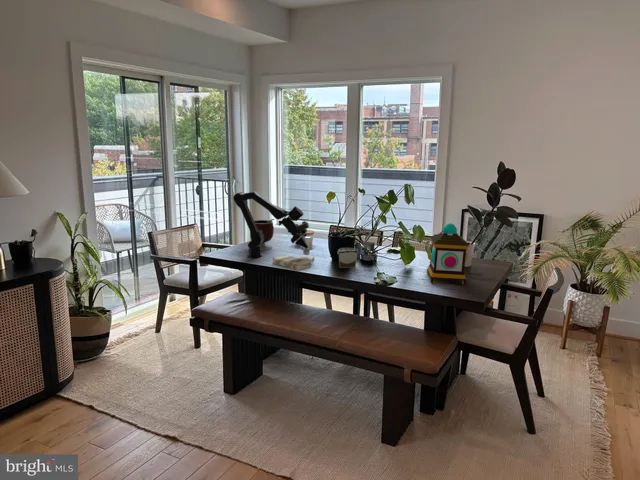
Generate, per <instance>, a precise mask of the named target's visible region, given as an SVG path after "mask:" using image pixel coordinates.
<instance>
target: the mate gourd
mask: <svg viewBox="0 0 640 480" xmlns="http://www.w3.org/2000/svg"><path fill="white" fill-rule="evenodd" d="M273 221H275V218H270V219H269V220H268V219H256V220H255V219H254V222H255V224H256V226H257V228H258V230H259V231H260V230H262V232H263V235H264V241H263V242H262V243H261V245H259V247H260V251H269V250H270V251H271V250H273V246H271V245H267V244H266V243H267V242H269V241H271V239H272V238H273V235H274V222H273Z"/></svg>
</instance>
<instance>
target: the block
mask: <svg viewBox="0 0 640 480" xmlns="http://www.w3.org/2000/svg"><path fill="white" fill-rule="evenodd" d="M298 258H299V259H303V260H306V261H310V262H311V264H312V263H313V262H314V260H315V255H304V254H301V255H299V256H298Z"/></svg>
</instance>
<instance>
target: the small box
mask: <svg viewBox="0 0 640 480" xmlns="http://www.w3.org/2000/svg"><path fill="white" fill-rule="evenodd" d="M362 241H363V243H364V244H365V245H366V246H367V248H368V249H369V250H370V251H373V250H374V251H375V246H376V245H375V244H376V243H375V242H372V241H365V240H362ZM354 249H358V252H359V253H358V254H357V260H356V261H358V260H359V261H361V260H360V255H361V254H362V255H368V252H366V251H364V250H362V246H361V244H360V243H358V242H357V241H355V242H354Z"/></svg>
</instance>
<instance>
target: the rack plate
mask: <svg viewBox="0 0 640 480" xmlns="http://www.w3.org/2000/svg"><path fill="white" fill-rule="evenodd" d="M272 264H275V265H279V266H282V267H286V268H289V269H293V270H297V271H301V270H304V268H305V269H308V268H311V267H312V263H311V262H310V261H306V260H303V259H299V257H298V258H297V257H294V256H292V255H291V256H290V255H287V254H285V255H284V254H283V255H280V256H275V257H272ZM300 269H301V270H300Z"/></svg>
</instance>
